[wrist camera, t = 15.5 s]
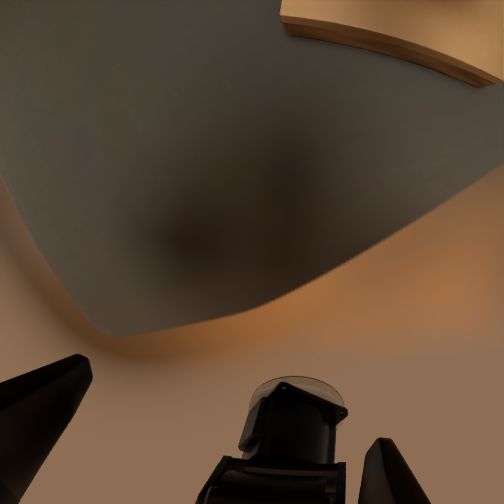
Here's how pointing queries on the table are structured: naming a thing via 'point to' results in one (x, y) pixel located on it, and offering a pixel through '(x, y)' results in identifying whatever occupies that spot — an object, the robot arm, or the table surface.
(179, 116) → the table surface
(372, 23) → the shoe shelf
